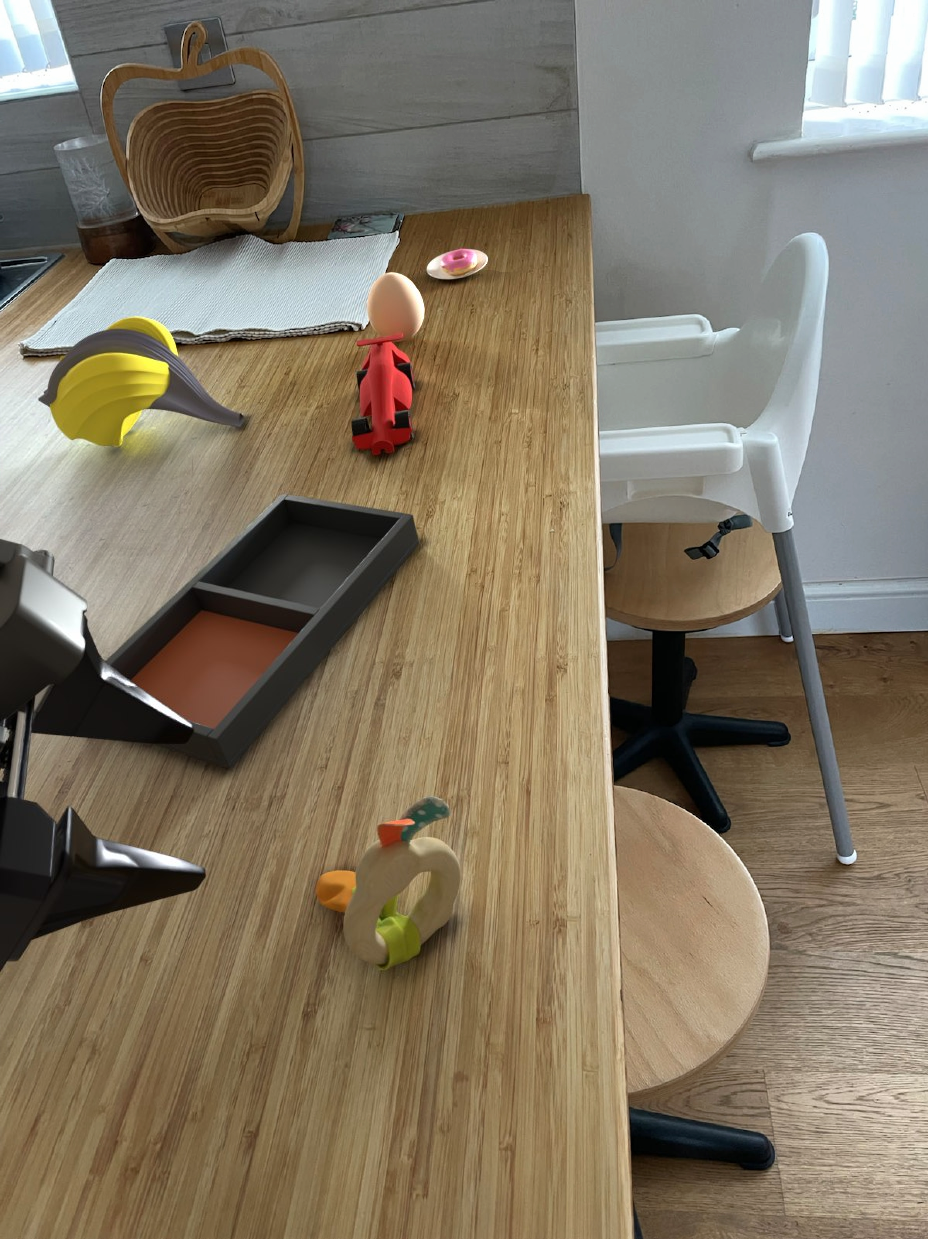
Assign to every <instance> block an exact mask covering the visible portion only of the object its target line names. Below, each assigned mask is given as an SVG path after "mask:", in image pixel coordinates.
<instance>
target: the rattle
mask: <svg viewBox="0 0 928 1239" xmlns="http://www.w3.org/2000/svg"><path fill="white" fill-rule="evenodd" d="M450 816H451V809H450V806H449V805H448V804H447V802H445V800H444V799H442V798H440V797H437V796H430V795H427V796H425V797H422V798H421V799H419V800H417V801H416V802H413V804H411V805H410V806H409V807H408V808H407V809H406V810H405V811H404V812H403V813H402V815H401V816H400V818H399V820H392V821H386V822H380V823H379V824H377V826H376V827H377V828H376V832H377V836H378V839H377V840H375V841H374V842H373V843H372V844H371V845H369V846H368V847H367V849H366V850H365V851H364V852H363V854H362V855H361V856H360V858H359V860H358V862H357V865H356V867H355V871H352V870H341V869H340V870H332V871H327V872H325V873H323V874H321V875H320V876H319V879H318V881H317V882H316V885H315V896H316V898H317V900H318V902H319V904H321V905H322V906H323V908H326V909H328V910H331V911H336V912H338V913H339V912H340V913H344V917H343V928H342V929H343V938H344V941H345V943H346V945H347V947H348V949H349V950H350V951H351V952H352V953H353V954H354V956H356V957H357V958H358V959H359V960H360V961H363V962H365V963H368V964H371V965H373V966H375V967H376V968H377V969H378V970H380V971H386V970H388V969H390V968H392V967H394V966H397V965H399V964H402V963H405V962H406V963H407V962H408V961H410V960H411V959H412V958H413V957H417V956H418V955H419V954H420V952H421V946H422V945H423V944H424V943H425V942H427V941H428V939H429V938H430V937H431V936H432V935H433V934H434V933H435V932H437V931H438V930H439V929H440V928H443V927H444V926H445V925H446V924H447V922H449V920H450V919H451V916H452V914H453V911H454V905H455V901H456V899H457V896H458V893H459V889H460V885H461V878H462V873H461V864H460V861H459V858H458V856H457V854H456V853H455V851H453V849H452V848H451V847H450V846H448V845H447V844H446V843H445V842H444V841H443V840H441V839H439V838H436V837H432V836H422V837H418V838H414V836H415V835H416V834H417V833H419V832H420V831H421V830H422V829H424V828H426V827H427V826H429V825H431V824H432V823H434V822H439V821H441V820H445V819H447V818H449V817H450ZM413 838H414V839H413ZM427 872H430V878H429V882H428V883H427V886H426V888H425V890H424V891H423V892H422V893H421V894H420V896H419V897H418V899H417V900H416V902H415V903H414V906H413V908H412V909H411V910H410V912H408V914H407V915H404V914H401V913H400V912H398V911H397V909H398V900H399V896H400V894H401V893H403V891H404V890H406V888H408V886H409V885H410V884H411V882H412V881H413V880H414V879H415V878H416V877H417V876H418V875H419V874H421V873H427Z"/></svg>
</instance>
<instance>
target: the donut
mask: <svg viewBox="0 0 928 1239" xmlns="http://www.w3.org/2000/svg"><path fill="white" fill-rule="evenodd" d="M488 259H489V258H488V256H487V254H486V253H485V252H483V251H481V250H477V249H473V248H472V249H471V248H459V249H456V250H451V251H447V252H445V253H442V254H440V255H437V256H436V257H434V258H433V259H432V260H431V261H430V262H429V263H428V264H427V266H426V272H427V274H428V275H429V277H433V278H435V279H438V280H458V279H462V278H463V279H464V278H466V277H469V276H472V275H474V274H475V273H478V272H479V271H481V270H482V269H483V268H485V266H486V264H488Z"/></svg>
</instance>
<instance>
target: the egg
mask: <svg viewBox="0 0 928 1239" xmlns="http://www.w3.org/2000/svg"><path fill="white" fill-rule="evenodd" d="M366 312H367V317H368V320H369V323H370V325H371V327H372V329H373V330H374V331H375V332H376V334H378V335H379V337H387V336H390V335H393V334H398V333H402V334H403V337H402V339H400V340H396V341H392V343H393V342H394V343H395V342H396V343H400V342H401V343H402V342H405V341H407V340H410V339H411V338H413V337H414V336H415V335H416V334H417V333H418V332H419V330H420V328H421V327H422V325H423V322H424V318H425V304H424V301H423V297H422V295H421V293H420V291H419V289H418V288H417V287H416V285H415V284H414V283H413V281H412V280H410V279H409V278H408V277H407V276H405V275H403V274H401V273H398V272H391V271H390V272H386V273H384V274H381V275H380V276H379V277H378V278H377V279H376V280H374V282H373V283H372V284H371V288H370V289H369V293H368V296H367V301H366Z"/></svg>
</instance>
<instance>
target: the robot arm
mask: <svg viewBox="0 0 928 1239" xmlns="http://www.w3.org/2000/svg"><path fill="white" fill-rule="evenodd" d="M55 561H56V559H55V556H54V554H53V553H52V552H50V551H49V550H46V549H36V550H32V549H31V548H29V547H28V546H26V545H24V544H23V543H18V542H15V541H11V540H7V539H3V538H0V772H2V778H1V780H0V973H1V972H2V971H3V969H4V967H5V966H6V964H7V962H9V963H11V962H18V961H19V960H20V959H21V958H22V956H23V955H24V953H25V952H26V950H27V948H28V947H29V945H30V944H31V942H32V941H34V940H37V939H40V938H43V937H45V936H48V935H50V934H54V933H56V932H58V931H61V930H63V929H66V928H69V927H72V926H75V925H76V924H80V923H82V922H86V921H88V920H91V919H95V918H97V917H100V916H105V915H109V914H111V913H115V912H119V911H123V910H127V909H130V908H134V907H138V906H143V905H145V904H148V903H153V902H156V901H161V900H165V899H168V898H171V897H175V896H179V895H183V894H187V893H190V892H194V891H196V890H197V889H199V888H200V886H201V884H202V883H203V882H204V880H206V877H207V872H206V868H205V867H204V866H201V865H199V864H197V863H193V862H191V861H188V860H185V859H183V858H180V857H176V856H173V855H169V854H165V853H160V852H156V851H153V850H149V849H145V848H141V847H137V846H133V845H130V844H125V843H121V842H116V841H112V840H110V839H105V838H101V837H98V836H96V835H94V834H93V833H92V832H91V830H90V829H89V827H88V826H87V825H86V823H85V822H84V821H83V820H82V818H81V817H80V815H79V814H78V813H77V811H76V810H75V809H74V807H72V806H70V805H67V806H66V808H65V810H64V811H63V813H62V815H61V816H60V818H59V820H58V821H56V820H55V819H54V818H53V817H52V816H51V815H50V814H49V813H48V812H47V811H46V810H45V809H44V808H43V807H42V806H41V805H40V804H39V803H38V802H37V801H33V800H28V799H25V792H26V783H27V776H28V766H29V757H30V748H31V740H32V734H37V735H38V734H39V735H49V736H59V737H69V738H70V737H71V738H72V737H73V738H82V739H93V740H104V741H105V740H106V741H115V742H125V743H126V742H127V743H136V744H137V743H138V744H145V745H146V744H147V745H154V744H186V743H187V742H188V741H189V740H190V738H191V737H192V735H193V734H194V726H193V724H192V723H190V722H189V721H187V720H186V719H185V718H183V717H182V716H180V715H179V714H177V713H176V712H174V711H173V710H172V709H170V708H169V707H167V706H166V705H164V704H163V703H162V702H160V701H159V700H157V699H156V698H154V697H153V696H151V695H150V694H149V693H147V692H146V691H144V690H143V689H141V688H140V687H138V686H137V685H136V684H134V683H133V682H131V681H130V680H129V679H127V678H126V677H125V676H123V675H122V674H121V673H119V672H118V671H117V670H116V669H114V668H113V667H112V666H111V665H109V664H108V663H107V662H106V659H104V658H103V657H102V655H101V654H100V652H99V650H98V648H97V645H96V643H95V640H94V638H93V636H92V634H91V631H90V628H89V624H88V623H89V620H88V617H87V616H86V613H87V611H88V601H87V599H86V598H84V597H83V596H81V595H80V594H78V593H77V592H76V591H75V590H73V589H72V588H70V587H69V585H68V586H67V584H65V583H64V582H62V581H60V579H58V578H57V577H55V576H54V570H55V563H56V562H55ZM7 734H8V736H7ZM1 770H3V771H1Z"/></svg>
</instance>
